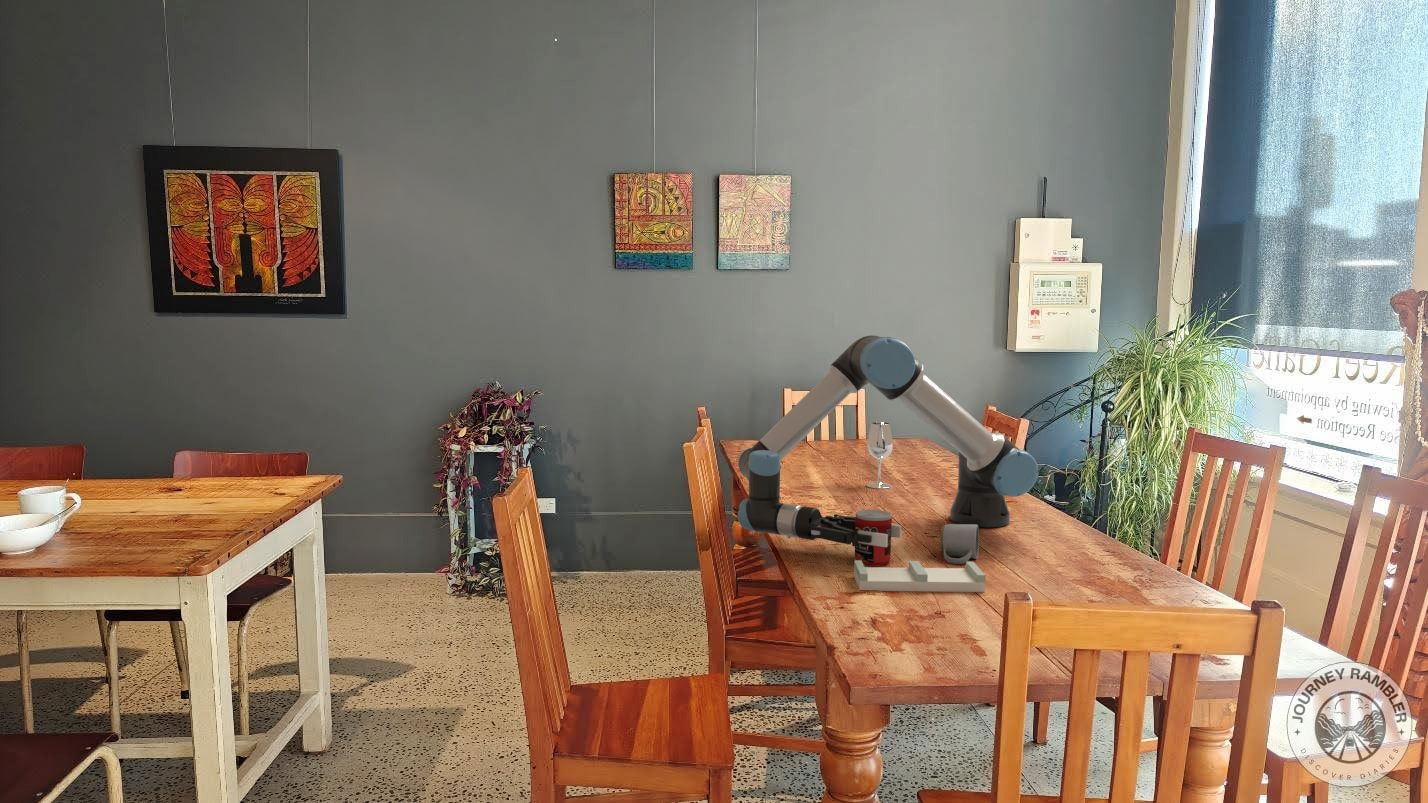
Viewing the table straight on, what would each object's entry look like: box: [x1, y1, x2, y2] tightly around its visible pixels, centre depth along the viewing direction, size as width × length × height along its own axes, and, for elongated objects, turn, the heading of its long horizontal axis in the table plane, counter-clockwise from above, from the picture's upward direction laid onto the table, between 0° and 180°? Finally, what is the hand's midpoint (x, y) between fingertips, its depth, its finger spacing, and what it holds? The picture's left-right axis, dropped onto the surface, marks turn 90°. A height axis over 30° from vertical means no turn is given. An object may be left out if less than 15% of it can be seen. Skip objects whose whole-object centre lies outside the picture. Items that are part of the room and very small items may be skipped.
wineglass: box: [866, 421, 894, 490], centre depth 268 cm, size 8×8×20 cm
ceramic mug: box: [939, 523, 980, 565], centre depth 195 cm, size 11×8×8 cm
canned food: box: [854, 509, 893, 567], centre depth 192 cm, size 8×8×11 cm
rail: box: [853, 559, 986, 593], centre depth 177 cm, size 25×9×4 cm, turn 88°
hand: (893, 536), depth 189 cm, fingers closed on canned food, 8 cm apart
